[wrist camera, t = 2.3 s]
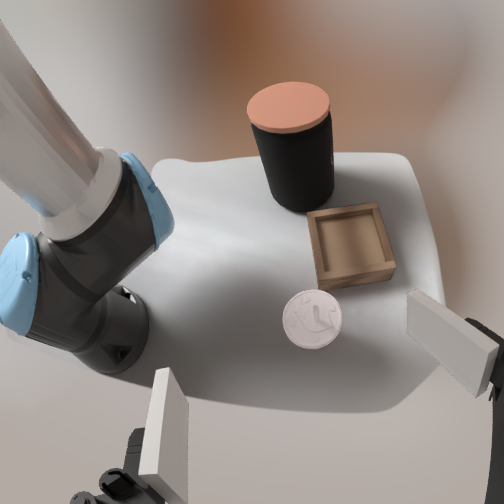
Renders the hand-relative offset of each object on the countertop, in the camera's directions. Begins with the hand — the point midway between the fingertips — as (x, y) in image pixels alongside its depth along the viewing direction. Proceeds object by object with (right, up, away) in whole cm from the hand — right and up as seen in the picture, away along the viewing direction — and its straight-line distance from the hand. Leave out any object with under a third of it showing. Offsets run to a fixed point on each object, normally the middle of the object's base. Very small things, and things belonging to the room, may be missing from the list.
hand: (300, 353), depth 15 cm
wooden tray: (+12, +5, +28) cm, 31 cm away
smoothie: (+6, -6, +24) cm, 26 cm away
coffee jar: (+6, +16, +36) cm, 39 cm away
